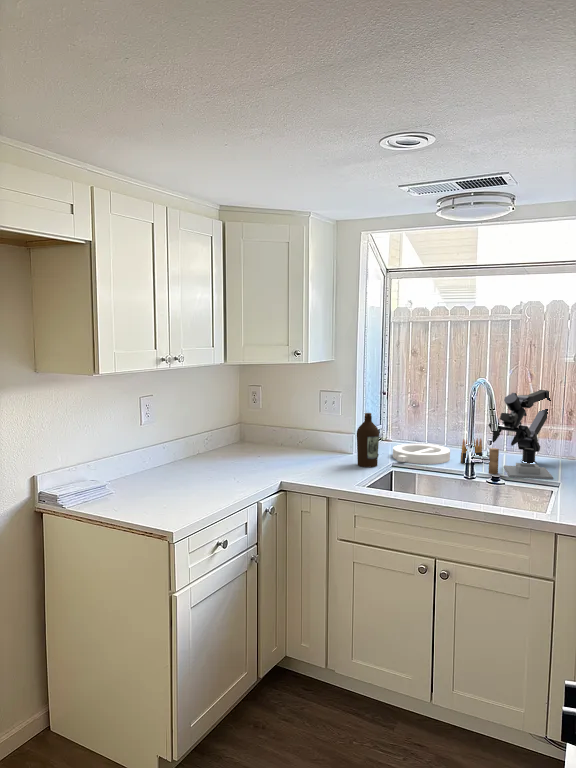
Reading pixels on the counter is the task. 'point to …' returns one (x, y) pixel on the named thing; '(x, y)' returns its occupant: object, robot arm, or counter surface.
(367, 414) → the olive oil
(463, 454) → the ammunition clip
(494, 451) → the walnut pin
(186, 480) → the counter surface
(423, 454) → the ring with crossbar
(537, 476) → the holder
